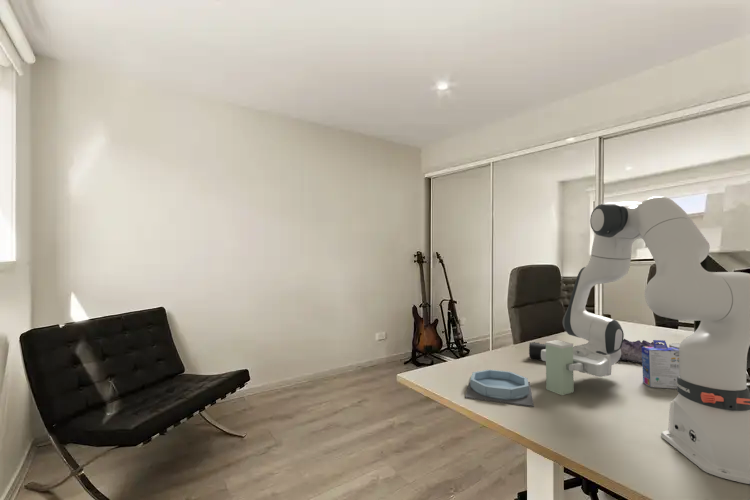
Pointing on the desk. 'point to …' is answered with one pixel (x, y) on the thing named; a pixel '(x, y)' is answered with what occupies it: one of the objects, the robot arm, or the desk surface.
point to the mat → (523, 401)
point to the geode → (634, 350)
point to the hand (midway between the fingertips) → (557, 364)
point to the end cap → (536, 350)
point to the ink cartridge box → (660, 365)
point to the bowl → (500, 384)
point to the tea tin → (559, 367)
